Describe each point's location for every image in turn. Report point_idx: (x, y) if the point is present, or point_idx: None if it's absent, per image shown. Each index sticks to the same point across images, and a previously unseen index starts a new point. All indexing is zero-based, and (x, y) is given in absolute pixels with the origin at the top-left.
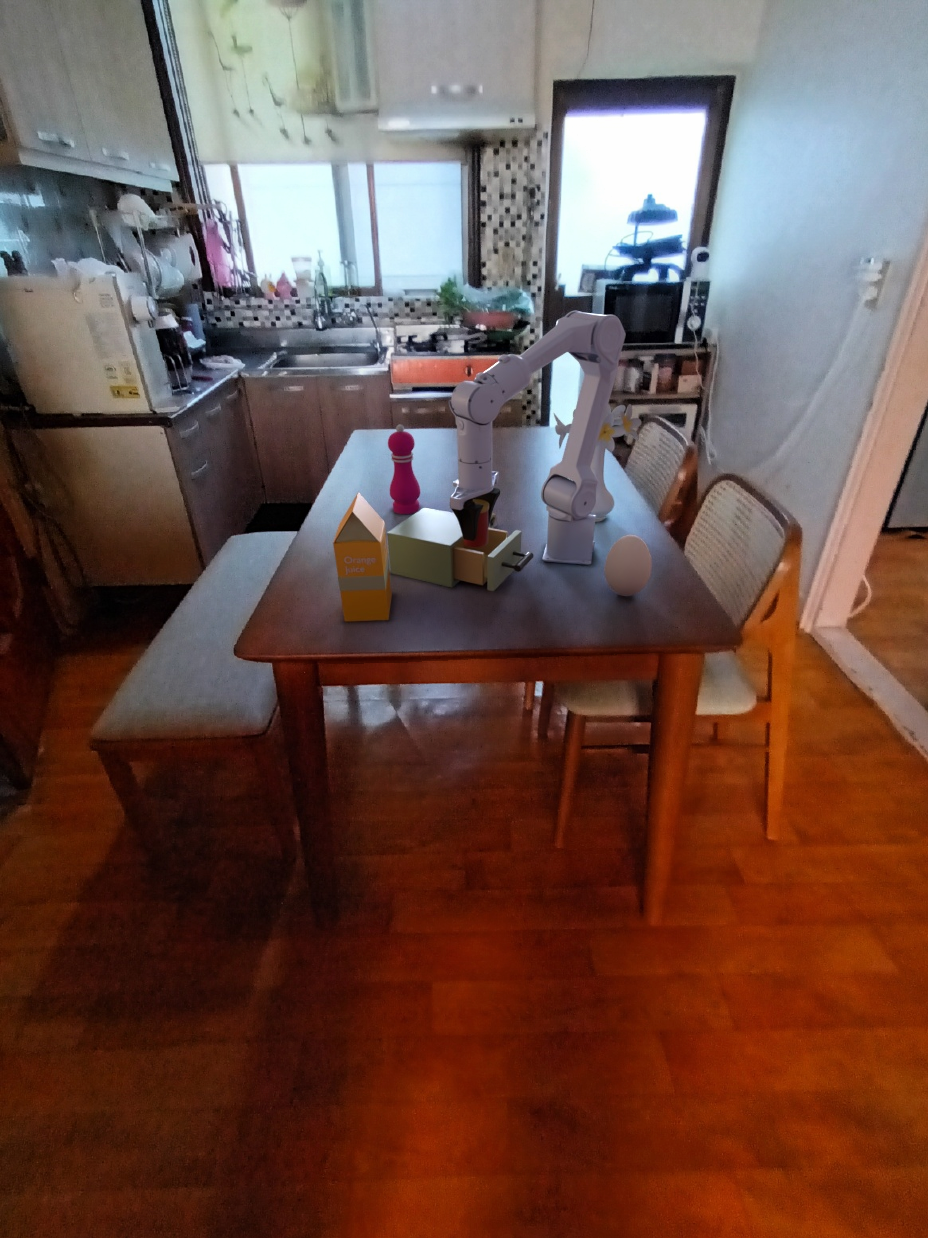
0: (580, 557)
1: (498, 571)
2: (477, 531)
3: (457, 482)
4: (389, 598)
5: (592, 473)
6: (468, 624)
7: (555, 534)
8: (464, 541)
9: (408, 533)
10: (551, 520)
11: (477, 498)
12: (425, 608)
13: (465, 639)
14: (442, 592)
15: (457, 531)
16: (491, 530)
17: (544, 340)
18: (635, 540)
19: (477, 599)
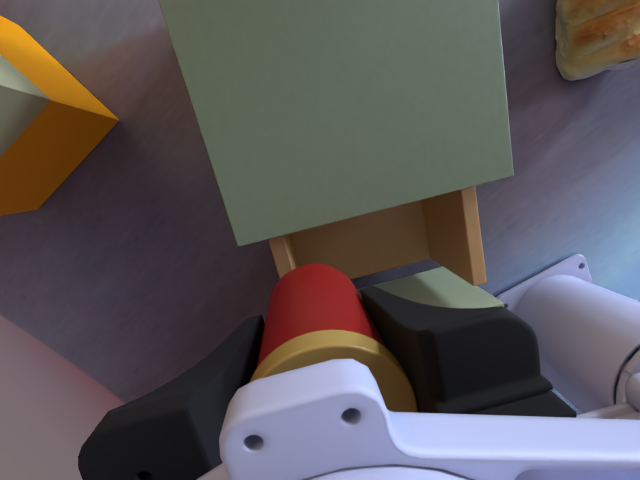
0: (540, 365)
1: None
2: None
3: (263, 474)
4: (63, 162)
5: None
6: (170, 351)
7: (567, 352)
8: (273, 291)
9: (196, 10)
10: (612, 357)
11: (413, 378)
12: (143, 238)
13: (126, 382)
14: (226, 216)
15: (351, 179)
16: (464, 234)
17: None
18: None
19: (259, 299)
